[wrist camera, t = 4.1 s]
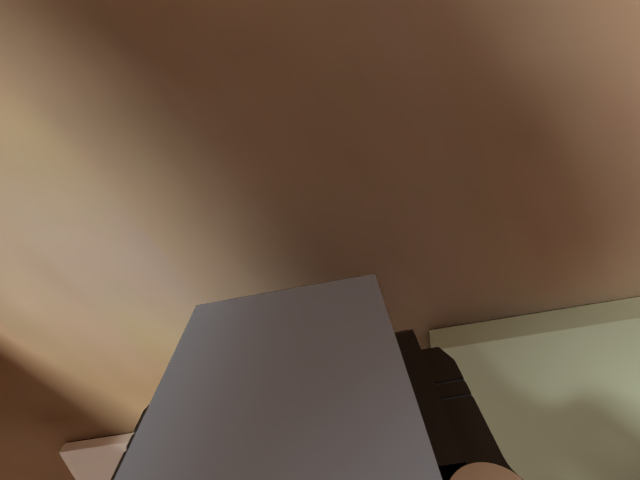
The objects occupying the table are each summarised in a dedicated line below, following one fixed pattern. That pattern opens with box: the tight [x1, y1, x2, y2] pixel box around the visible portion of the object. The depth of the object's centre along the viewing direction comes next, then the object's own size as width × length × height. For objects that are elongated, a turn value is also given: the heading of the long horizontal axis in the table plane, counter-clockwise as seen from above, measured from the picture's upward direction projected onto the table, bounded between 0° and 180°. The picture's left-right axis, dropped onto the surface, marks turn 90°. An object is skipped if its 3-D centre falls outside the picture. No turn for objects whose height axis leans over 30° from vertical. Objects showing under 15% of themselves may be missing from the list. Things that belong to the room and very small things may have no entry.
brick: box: [114, 274, 442, 480], centre depth 8 cm, size 4×4×6 cm
